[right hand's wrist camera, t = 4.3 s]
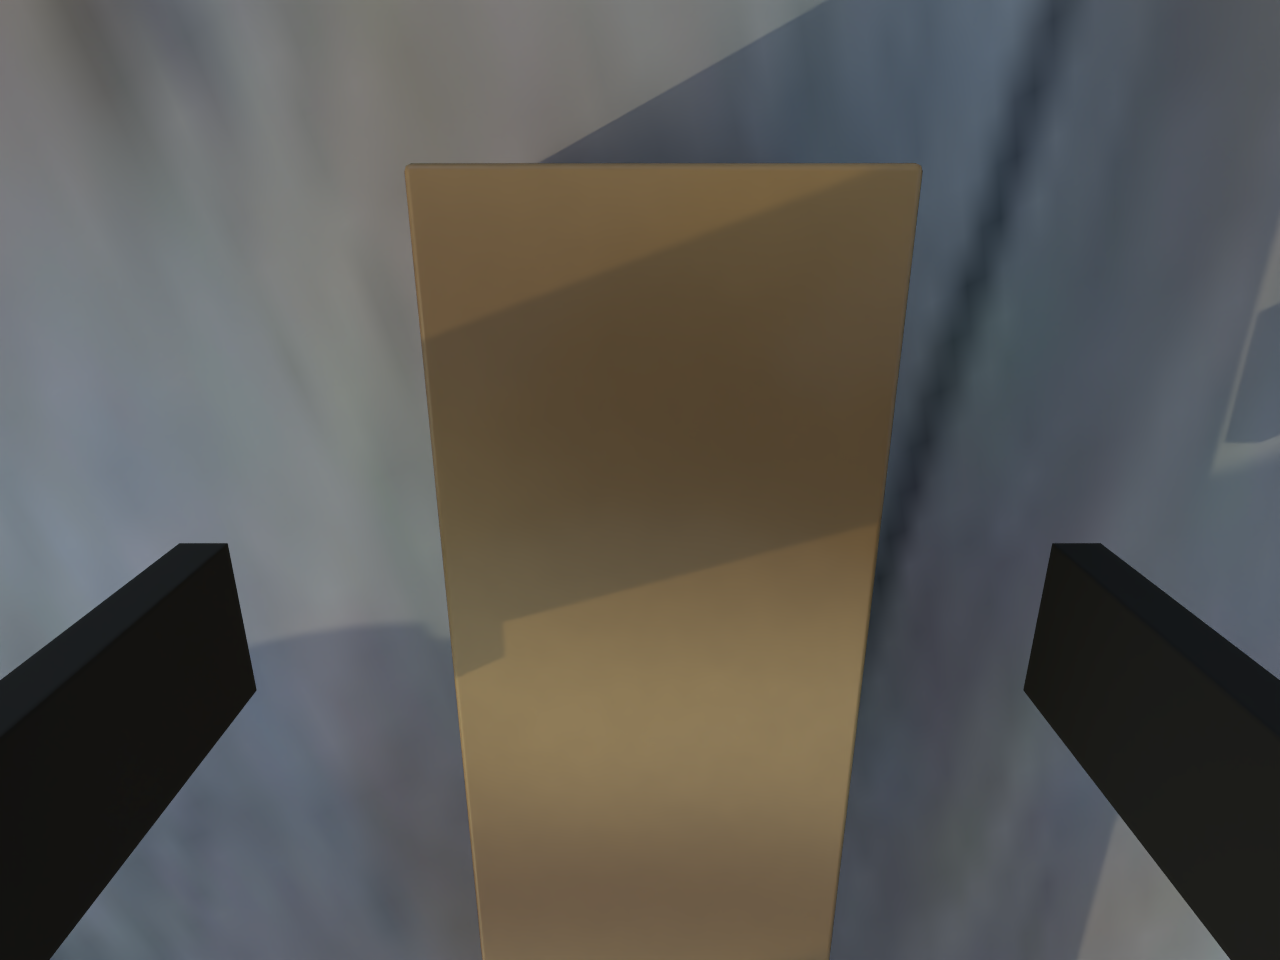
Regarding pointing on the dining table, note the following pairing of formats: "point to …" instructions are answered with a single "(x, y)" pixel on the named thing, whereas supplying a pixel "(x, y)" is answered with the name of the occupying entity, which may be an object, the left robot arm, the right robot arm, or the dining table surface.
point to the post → (659, 535)
